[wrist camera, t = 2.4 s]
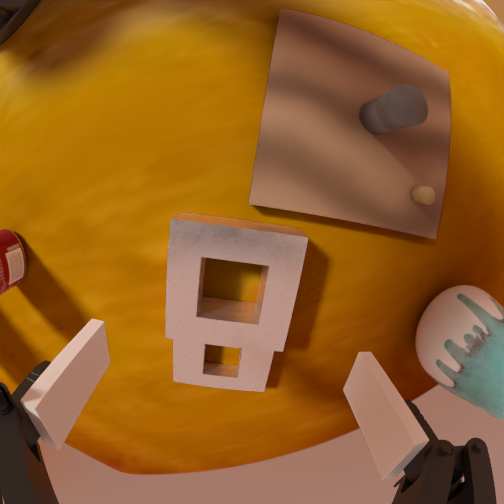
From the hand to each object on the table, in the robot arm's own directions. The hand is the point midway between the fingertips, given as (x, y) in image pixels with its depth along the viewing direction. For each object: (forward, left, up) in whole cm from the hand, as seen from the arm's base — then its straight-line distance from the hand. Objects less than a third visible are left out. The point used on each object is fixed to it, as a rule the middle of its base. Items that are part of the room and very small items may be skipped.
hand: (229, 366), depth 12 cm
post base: (-16, +10, -12) cm, 23 cm away
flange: (+3, 0, -12) cm, 13 cm away
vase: (+3, +26, -13) cm, 29 cm away
